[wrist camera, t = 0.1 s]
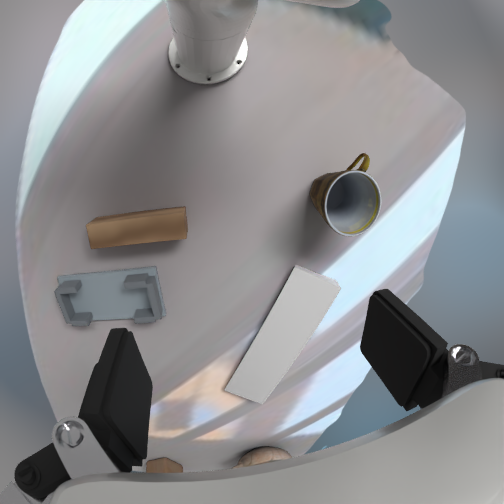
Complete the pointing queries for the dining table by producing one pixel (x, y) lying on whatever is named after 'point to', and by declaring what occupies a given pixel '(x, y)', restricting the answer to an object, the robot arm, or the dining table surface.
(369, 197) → the ceramic cup
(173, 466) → the wooden block
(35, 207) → the dining table surface
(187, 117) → the dining table surface
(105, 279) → the board
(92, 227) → the slat
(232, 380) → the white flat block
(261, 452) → the cooking pot
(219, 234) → the dining table surface
